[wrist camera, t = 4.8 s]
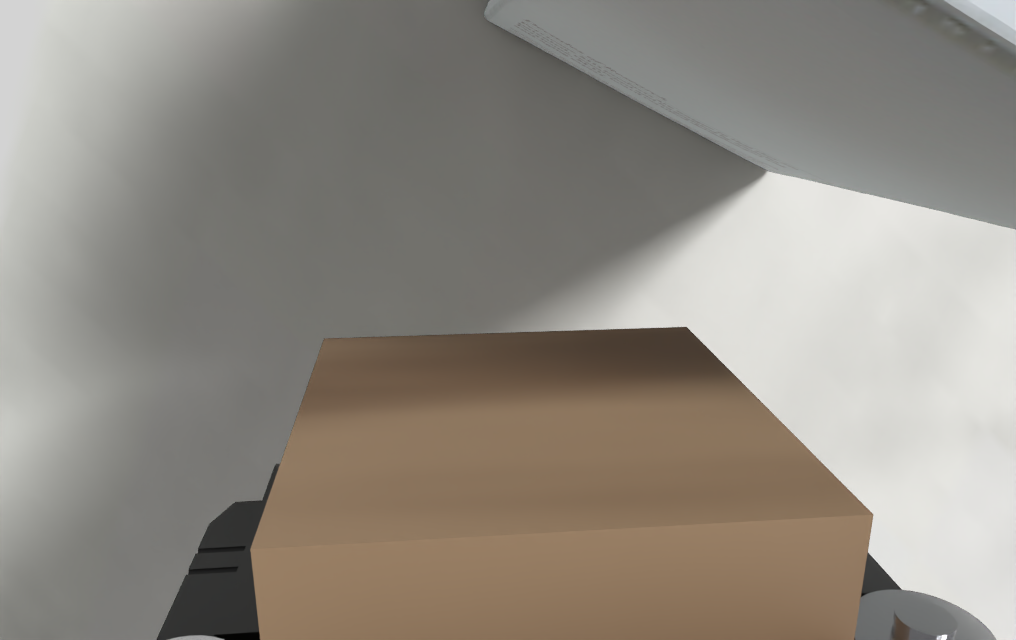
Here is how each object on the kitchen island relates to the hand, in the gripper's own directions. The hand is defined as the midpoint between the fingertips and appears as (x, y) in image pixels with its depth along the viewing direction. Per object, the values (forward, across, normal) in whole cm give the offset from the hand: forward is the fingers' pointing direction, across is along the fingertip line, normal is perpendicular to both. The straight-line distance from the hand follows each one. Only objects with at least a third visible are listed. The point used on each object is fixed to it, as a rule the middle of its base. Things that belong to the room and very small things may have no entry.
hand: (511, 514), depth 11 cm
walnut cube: (+1, 0, 0) cm, 1 cm away
